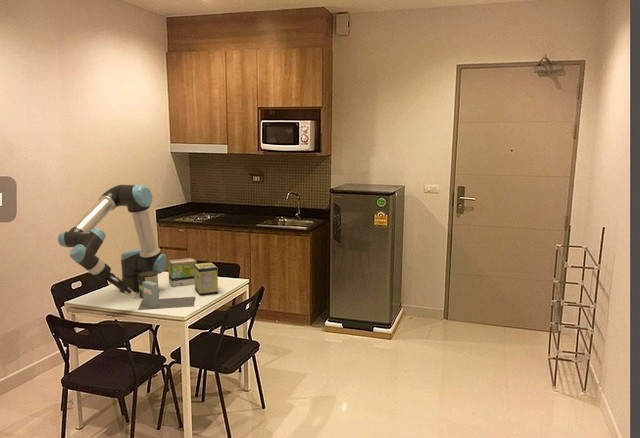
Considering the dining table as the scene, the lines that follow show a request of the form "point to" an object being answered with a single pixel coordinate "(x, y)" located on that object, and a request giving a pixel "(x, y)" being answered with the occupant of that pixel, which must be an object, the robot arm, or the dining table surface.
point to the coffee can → (146, 279)
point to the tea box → (181, 272)
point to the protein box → (206, 279)
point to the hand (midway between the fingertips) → (133, 295)
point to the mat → (171, 303)
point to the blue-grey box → (151, 294)
